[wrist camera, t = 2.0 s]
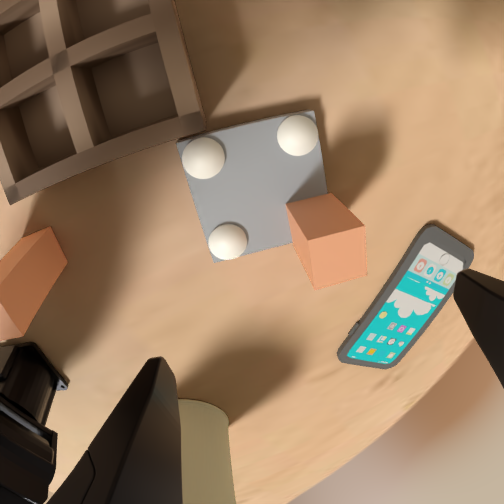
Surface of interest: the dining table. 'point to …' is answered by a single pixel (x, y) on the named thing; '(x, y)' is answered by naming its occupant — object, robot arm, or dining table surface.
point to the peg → (27, 280)
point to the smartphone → (407, 300)
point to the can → (205, 454)
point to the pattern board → (273, 196)
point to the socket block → (89, 86)
